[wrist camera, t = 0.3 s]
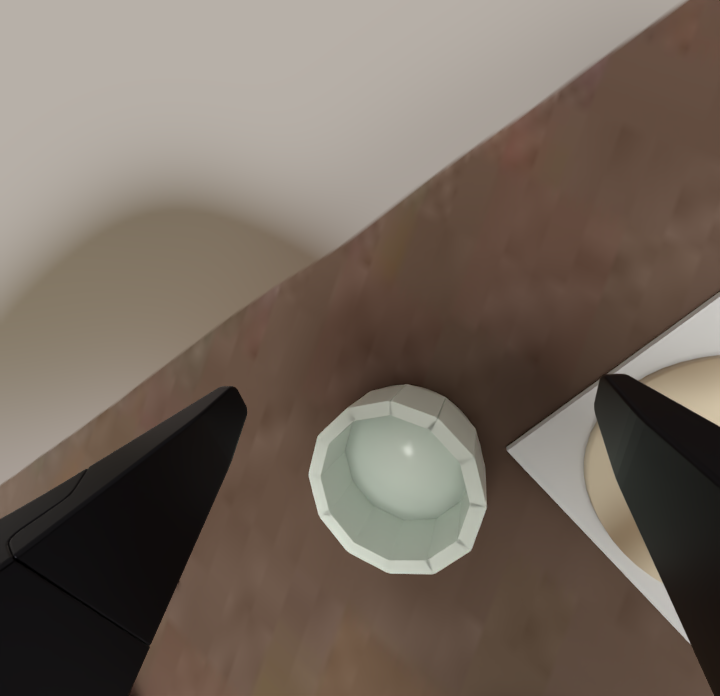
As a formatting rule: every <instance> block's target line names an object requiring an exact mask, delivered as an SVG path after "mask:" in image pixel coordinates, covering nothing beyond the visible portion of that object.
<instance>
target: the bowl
mask: <svg viewBox="0 0 720 696" xmlns="http://www.w3.org/2000/svg"><path fill="white" fill-rule="evenodd" d="M309 479H310V483H311V487H312V491H313V495H314V499H315V503H316V506H317V510H318V514H319V516H320V518H321V519H322V521H323V522H324V523H325V524H326V526H327V527H328V528H329V529H330V531H331V532H332V533H333V534H334V536H335V537H336V538H337V539H338V541H339V542H340V543H341V544H342V546H343V547H344V548H345V549H346V551H348V550H349V551H348V552H349V553H351V554H352V555H354V556H356V557H358V558H360V559H362V560H364V561H366V562H368V563H370V564H372V565H373V566H375V567H377V568H379V569H381V570H383V571H385V572H387V573H388V572H389V574H433V573H434V574H435V573H437V572H438V571H440V570H442V569H443V568H445V567H446V566H448V565H449V564H451V563H453V562H454V561H456V560H457V559H459V558H461V557H462V556H464V555H465V554H467V553H468V552H470V551H471V550H472V547H473V544H474V542H475V539H476V536H477V533H478V531H479V528H480V525H481V522H482V520H483V517H484V514H485V512H486V509H487V497H486V468H485V464H484V460H483V456H482V450H481V445H480V442H479V439H478V436H477V432H476V429H475V427H474V426H473V425H472V424H471V423H470V421H469V420H468V418H467V417H466V416H465V415H464V413H463V412H462V411H461V410H460V409H459V408H458V407H457V406H456V405H455V404H454V403H452V402H451V401H450V400H448V399H447V398H445V397H444V396H442V395H440V394H438V393H437V392H434V391H432V390H429V389H427V388H423V387H419V386H413V385H409V384H404V385H394V386H388V387H384V388H381V389H378V390H373V391H370V392H368V393H367V394H366V395H364V396H363V397H362V398H360V399H359V400H357V401H356V402H355V403H353V404H352V405H351V406H349V407H348V408H346V409H345V410H344V411H343V412H342V413H341V414H340V415H339V416H338V417H337V418H336V419H335V420H334V421H333V422H332V423H331V424H330V425H329V426H328V427H326V428H325V429H324V430H323V431H322V432H321V433H320V434H319V435H318V437H317V441H316V445H315V449H314V453H313V458H312V462H311V466H310V470H309Z"/></svg>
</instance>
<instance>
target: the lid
mask: <svg viewBox="0 0 720 696" xmlns="http://www.w3.org/2000/svg"><path fill="white" fill-rule="evenodd" d="M638 381H640V382H642V383H643V384H645V385H647V386H649V387H651V388H652V389H654V390H656V391H658V392H659V393H661V394H663V395H665V396H667V397H668V398H670V399H672V400H674V401H675V402H677V403H679V404H681V405H683V406H684V407H686V408H688V409H690V410H691V411H693V412H695V413H697V414H698V415H700V416H702V417H704V418H706V419H707V420H709V421H711V422H713V423H714V424H716V425H718V426H720V355H717V356H709V357H701V358H697V359H692V360H688V361H683V362H680V363H677V364H674V365H671V366H668V367H665V368H662V369H660V370H658V371H656V372H653V373H651V374H649V375H647V376H645V377H643V378H642V379H640V380H638ZM584 478H585V484H586V489H587V492H588V495H589V499H590V502H591V504H592V506H593V508H594V510H595V512H596V514H597V516H598V518H599V520H600V522H601V523H602V525H603V527H604V528H605V530H606V531H607V533H608V534H609V536H610V537H611V539H612V540H613V542H614V543H615V544H616V545H617V546H618V547H619V549H620V550H621V551H622V552H623V553H624V554H625V555H626V556H627V557H628V558H629V559H630V560H631V561H632V562H633V563H634V564H636V565H637V566H638V567H639V568H641V569H642V570H643V571H645V572H646V573H647V574H649V575H650V576H651V577H653V578H654V579H656V580H658V581H659V582H661V583H663V582H662V580H661V578H660V576H659V573H658V571H657V569H656V567H655V565H654V563H653V560H652V558H651V556H650V554H649V552H648V549H647V547H646V545H645V543H644V541H643V538H642V536H641V534H640V532H639V530H638V527H637V525H636V523H635V521H634V519H633V516H632V514H631V512H630V510H629V508H628V506H627V503H626V501H625V499H624V497H623V495H622V492H621V490H620V488H619V485H618V483H617V481H616V478H615V475H614V472H613V469H612V466H611V463H610V460H609V457H608V454H607V450H606V447H605V444H604V441H603V438H602V435H601V431H600V428H599V425H598V422H597V421H596V423H595V425H594V427H593V429H592V431H591V433H590V436H589V439H588V443H587V446H586V451H585V457H584Z"/></svg>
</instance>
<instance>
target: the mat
mask: <svg viewBox="0 0 720 696" xmlns="http://www.w3.org/2000/svg"><path fill="white" fill-rule="evenodd" d="M717 355H720V292H718V293H717V294H716V295H714V296H713V297H712V298H710V299H709V300H708V301H706V302H705V303H703V304H702V305H701V306H699V307H698V308H697V309H695V310H694V311H692V312H691V313H690V314H688V315H687V316H686V317H684V318H683V319H681V320H680V321H679V322H677V323H676V324H675V325H673V326H672V327H670V328H669V329H668V330H666V331H665V332H664V333H662V334H661V335H659V336H658V337H657V338H655V339H654V340H653V341H651V342H650V343H649V344H647V345H646V346H644V347H643V348H642V349H640V350H639V351H638V352H636V353H635V354H633V355H632V356H631V357H629V358H628V359H627V360H625V361H624V362H622V363H621V364H620V365H618V366H617V367H616V368H614V369H613V370H611V371H610V372H609V373H607V374H627V375H629V376H631V377H633V378H635V379H636V380H640V379H642V378H643V377H645V376H647V375H649V374H651V373H653V372H656V371H658V370H660V369H662V368H665V367H668V366H671V365H674V364H677V363H680V362H683V361H688V360H692V359H697V358H701V357H709V356H717ZM599 380H600V379H599ZM599 380H598V381H596V382H595V383H594V384H592V385H591V386H590V387H588V388H587V389H585V390H584V391H583V392H581V393H580V394H579V395H577V396H576V397H574V398H573V399H572V400H570V401H569V402H568V403H566V404H565V405H563V406H562V407H561V408H559V409H558V410H557V411H555V412H554V413H552V414H551V415H550V416H548V417H547V418H546V419H544V420H543V421H541V422H540V423H539V424H537V425H536V426H535V427H533V428H532V429H531V430H529V431H528V432H526V433H525V434H524V435H522V436H521V437H520V438H518V439H517V440H515V441H514V442H513V443H511V444H510V445H509V446H507V447H506V448H507V451H508V452H509V453H510V455H511V456H512V457H513V458H514V459H515V460H516V461H517V462H518V463H519V464H520V465H521V466H522V467H523V468H524V469H525V470H526V471H527V472H528V474H529V475H530V476H531V477H532V478H533V479H534V480H535V481H536V482H537V483H538V484H539V485H540V486H541V487H542V488H543V489H544V490H545V491H546V492H547V494H548V495H549V496H550V497H551V498H552V499H553V500H554V501H555V502H556V503H557V504H558V505H559V506H560V507H561V508H562V509H563V510H564V511H565V513H566V514H567V515H568V516H569V517H570V518H571V519H572V520H573V521H574V522H575V523H576V524H577V525H578V526H579V527H580V528H581V529H582V530H583V531H584V533H585V534H586V535H587V536H588V537H589V538H590V539H591V540H592V541H593V542H594V543H595V544H596V545H597V546H598V547H599V548H600V549H601V550H602V551H603V553H604V554H605V555H606V556H607V557H608V558H609V559H610V560H611V561H612V562H613V563H614V564H615V565H616V566H617V567H618V568H619V569H620V570H621V572H622V573H623V574H624V575H625V576H626V577H627V578H628V579H629V580H630V581H631V582H632V583H633V584H634V585H635V586H636V587H637V588H638V589H639V590H640V592H641V593H642V594H643V595H644V596H645V597H646V598H647V599H648V600H649V601H650V602H651V603H652V604H653V605H654V606H655V607H656V608H657V609H658V611H659V612H660V613H661V614H662V615H663V616H664V617H665V618H666V619H667V620H668V621H669V622H670V623H671V624H672V625H673V626H674V627H675V628H676V629H677V631H678V632H679V633H680V634H681V635H682V636H683V637H684V638H685V639H686V640H687V641H688V642H689V643H690V641H689V639H688V637H687V635H686V633H685V630H684V628H683V626H682V624H681V622H680V620H679V617H678V615H677V613H676V611H675V609H674V606H673V604H672V602H671V600H670V598H669V595H668V593H667V591H666V589H665V587H664V584H663V583H661V582H659V581H658V580H656V579H654V578H653V577H651V576H650V575H649V574H647V573H646V572H645V571H643V570H642V569H641V568H639V567H638V566H637V565H636V564H634V563H633V562H632V561H631V560H630V559H629V558H628V557H627V556H626V555H625V554H624V553H623V552H622V551H621V550H620V549H619V547H618V546H617V545H616V544H615V543H614V542H613V540H612V539H611V537H610V536H609V534H608V533H607V531H606V530H605V528H604V527H603V525H602V523H601V522H600V520H599V518H598V516H597V514H596V512H595V510H594V508H593V506H592V504H591V502H590V499H589V495H588V492H587V489H586V484H585V478H584V457H585V451H586V446H587V443H588V439H589V436H590V433H591V431H592V429H593V427H594V425H595V423H596V421H597V419H596V415H595V411H594V401H595V397H596V393H597V388H598V384H599Z"/></svg>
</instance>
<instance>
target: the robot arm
mask: <svg viewBox="0 0 720 696" xmlns="http://www.w3.org/2000/svg"><path fill="white" fill-rule="evenodd" d="M594 411H595V415H596V419H597V422H598V425H599V428H600V431H601V435H602V438H603V441H604V444H605V447H606V450H607V454H608V457H609V460H610V463H611V466H612V469H613V472H614V475H615V478H616V481H617V483H618V485H619V488H620V490H621V492H622V495H623V497H624V499H625V501H626V503H627V506H628V508H629V510H630V512H631V514H632V516H633V519H634V521H635V523H636V525H637V527H638V530H639V532H640V534H641V536H642V538H643V541H644V543H645V545H646V547H647V549H648V552H649V554H650V556H651V558H652V560H653V563H654V565H655V567H656V569H657V571H658V573H659V576H660V578H661V580H662V582H663V584H664V587H665V589H666V591H667V593H668V595H669V598H670V600H671V602H672V604H673V606H674V609H675V611H676V613H677V615H678V617H679V620H680V622H681V624H682V626H683V628H684V630H685V633H686V635H687V637H688V639H689V641H690V644H691V646H692V648H693V650H694V652H695V655H696V657H697V659H698V661H699V663H700V666H701V668H702V670H703V672H704V674H705V677H706V679H707V681H708V683H709V685H710V687H711V690H712V692H713V694H714V696H720V426H718V425H716V424H714V423H713V422H711V421H709V420H707V419H706V418H704V417H702V416H700V415H698V414H697V413H695V412H693V411H691V410H690V409H688V408H686V407H684V406H683V405H681V404H679V403H677V402H675V401H674V400H672V399H670V398H668V397H667V396H665V395H663V394H661V393H659V392H658V391H656V390H654V389H652V388H651V387H649V386H647V385H645V384H643V383H642V382H640V381H638V380H636V379H635V378H633V377H631V376H629V375H627V374H604V375H602V376H601V378H600V380H599V384H598V388H597V393H596V397H595V401H594ZM246 416H247V407H246V405H245V403H244V401H243V399H242V397H241V395H240V393H239V392H238V390H237V389H236V388H235V387H233V386H224V387H219V388H218V389H216V390H214V391H213V392H211V393H209V394H208V395H206V396H204V397H203V398H201V399H200V400H198V401H196V402H195V403H193V404H191V405H190V406H188V407H186V408H185V409H183V410H182V411H180V412H178V413H177V414H175V415H173V416H172V417H170V418H168V419H167V420H165V421H164V422H162V423H160V424H159V425H157V426H155V427H154V428H152V429H150V430H149V431H147V432H146V433H144V434H142V435H141V436H139V437H137V438H136V439H134V440H132V441H131V442H129V443H128V444H126V445H124V446H123V447H121V448H119V449H118V450H116V451H114V452H113V453H111V454H110V455H108V456H106V457H105V458H103V459H101V460H100V461H98V462H96V463H95V464H93V465H92V466H90V467H89V468H88V469H85V470H83V471H82V472H80V473H78V474H77V475H75V476H73V477H72V478H70V479H69V480H67V481H65V482H64V483H62V484H60V485H58V486H57V487H55V488H53V489H52V490H50V491H48V492H47V493H45V494H43V495H42V496H40V497H38V498H36V499H35V500H33V501H31V502H29V503H28V504H26V505H24V506H22V507H21V508H19V509H17V510H15V511H14V512H12V513H10V514H8V515H6V516H5V517H3V518H1V519H0V696H128V695H129V693H130V691H131V689H132V686H133V684H134V682H135V680H136V677H137V675H138V673H139V670H140V668H141V666H142V664H143V661H144V659H145V657H146V655H147V652H148V650H149V648H150V646H149V645H150V644H151V643H152V640H153V638H154V636H155V634H156V631H157V629H158V627H159V625H160V622H161V620H162V618H163V616H164V613H165V611H166V609H167V607H168V604H169V602H170V600H171V598H172V595H173V593H174V591H175V589H176V586H177V584H178V582H179V579H180V577H181V575H182V573H183V570H184V568H185V566H186V564H187V561H188V559H189V557H190V555H191V552H192V550H193V548H194V546H195V543H196V541H197V539H198V537H199V534H200V532H201V530H202V528H203V525H204V523H205V521H206V518H207V516H208V514H209V512H210V509H211V507H212V505H213V503H214V500H215V498H216V496H217V494H218V491H219V489H220V487H221V485H222V482H223V480H224V478H225V476H226V473H227V471H228V469H229V466H230V464H231V461H232V458H233V455H234V452H235V449H236V446H237V443H238V440H239V437H240V434H241V431H242V428H243V425H244V422H245V419H246Z"/></svg>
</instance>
